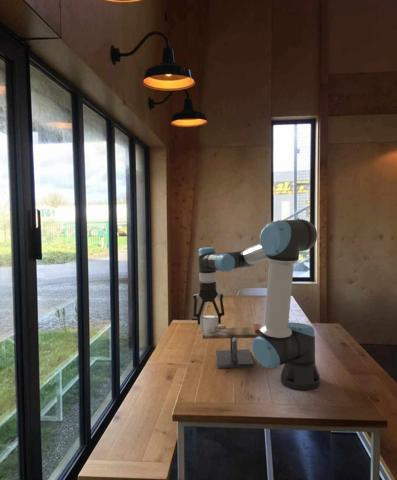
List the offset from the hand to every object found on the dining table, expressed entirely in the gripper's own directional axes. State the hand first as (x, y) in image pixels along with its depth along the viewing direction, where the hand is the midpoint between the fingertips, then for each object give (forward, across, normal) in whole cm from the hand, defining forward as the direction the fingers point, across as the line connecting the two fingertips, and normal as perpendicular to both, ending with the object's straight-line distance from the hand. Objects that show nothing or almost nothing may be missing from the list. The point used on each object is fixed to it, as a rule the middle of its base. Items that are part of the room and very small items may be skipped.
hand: (209, 330), depth 180 cm
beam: (+3, -11, 0) cm, 11 cm away
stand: (+14, -11, 0) cm, 18 cm away
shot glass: (+1, 0, 0) cm, 1 cm away
